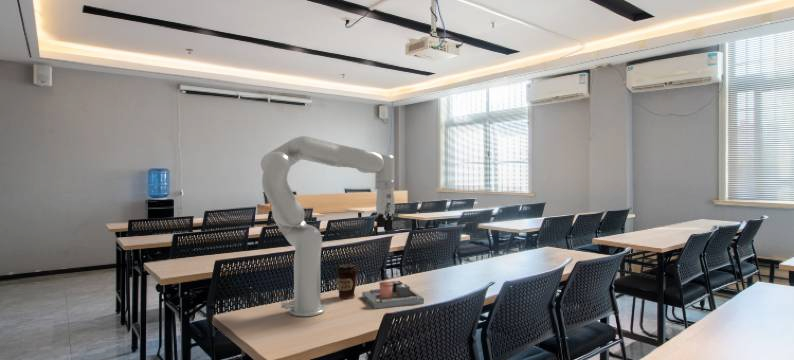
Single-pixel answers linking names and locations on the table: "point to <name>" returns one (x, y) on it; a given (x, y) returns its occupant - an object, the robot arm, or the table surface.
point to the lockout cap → (385, 290)
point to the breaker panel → (376, 302)
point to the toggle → (402, 291)
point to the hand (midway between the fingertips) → (384, 228)
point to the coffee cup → (346, 280)
